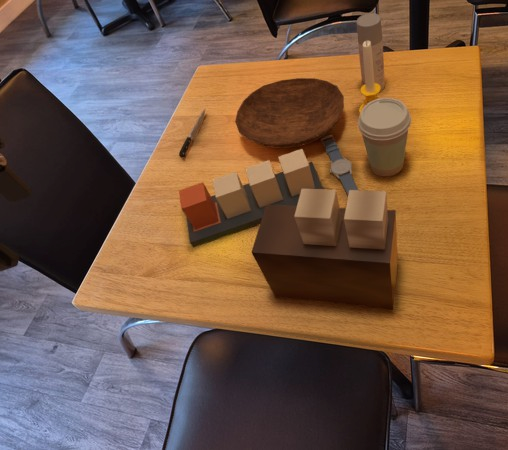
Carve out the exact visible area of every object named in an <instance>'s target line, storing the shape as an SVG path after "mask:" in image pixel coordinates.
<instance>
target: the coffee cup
mask: <svg viewBox="0 0 508 450" xmlns="http://www.w3.org/2000/svg"><path fill="white" fill-rule="evenodd" d="M411 125H412V116H411V113H410V111H409V109H408V107H407V105H406V104H405V103H404V102H403V101H402V100H400V99H397V98H393V97H380V98H379V99H376V100H373V101H371V102H369V103H368V104H366V105H365V106H364V107H363V109H362V110H361V113H359V116H358V120H357V128H358V130H359V132H360V134H361V136H362V137H361V138H362V140H363V144H364V148H365V152H366V155H367V158H368V162H369V166H370V169H371V171H372V172H373V173H374V174H375V175H377V176H379V177H391V176H394V175H396V174H398V173H400V172H401V170H402V169H403V166H404V161H405V157H406V156H405V155H406V150H407V149H406V148H407V141H408V136H409V135H408V134H409V128H410V127H411Z"/></svg>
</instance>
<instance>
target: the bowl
mask: <svg viewBox="0 0 508 450" xmlns="http://www.w3.org/2000/svg"><path fill="white" fill-rule="evenodd" d="M344 97H345V96H344V94H343V93H342V91H341V90H340V88H339V87H338V85H336V84H335V83H331V82H330V81H328V80H325V79H319V78H315V77H311V78H309V77H308V78H307V77H306V78H305V77H297V78H288V79H281V80H278V81H275V82H271V83H268V84H264V85H262V86H260V87H258V88H257V89H255V90H254V91H251V93H249V94H248V96H247V97H245V99H243V100H242V102H241V105H240V106H239V107H238V109H237V112H236V115H235V116H236V117H235V121H234V122H235V125H236V129H237V130H238V133H239V134H240V135H241V136H243V137H244V138H246V139H247V140H248V141H250V142H253V143H256V144H259V145H261V146H263V147H266V148H267V147H268V148H277V149H287V148H297V147H298V148H299V147H301V146H304V145H308V144H310V143H312V142H316V141H318V140H319V139H321V138H323V137H324V136H326V135H327V134H328V133H329V132H331V131H332V130H333V128H334V127H335V126H336V125H337V123H338V121H339V120H340V118H341V116H342V114H343V112H344V108H345V100H344V99H345V98H344Z"/></svg>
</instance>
